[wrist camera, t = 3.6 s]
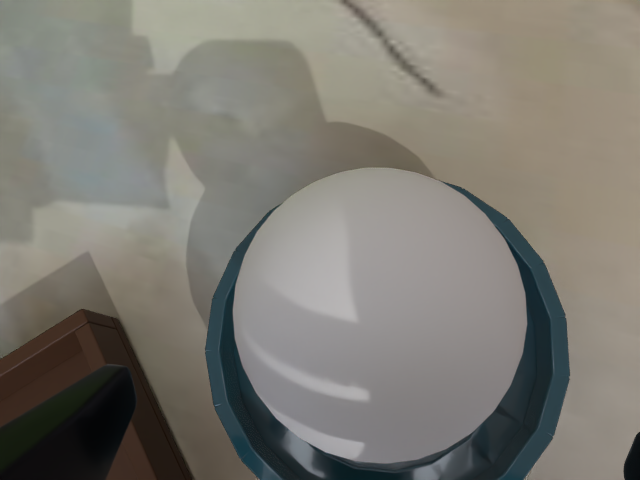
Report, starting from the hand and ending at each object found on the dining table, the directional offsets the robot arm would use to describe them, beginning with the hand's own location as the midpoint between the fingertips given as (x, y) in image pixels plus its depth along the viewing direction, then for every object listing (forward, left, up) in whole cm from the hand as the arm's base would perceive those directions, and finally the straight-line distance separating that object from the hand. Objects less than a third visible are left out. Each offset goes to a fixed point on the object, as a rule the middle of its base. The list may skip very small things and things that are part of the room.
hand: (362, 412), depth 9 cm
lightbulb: (+2, -1, -10) cm, 10 cm away
